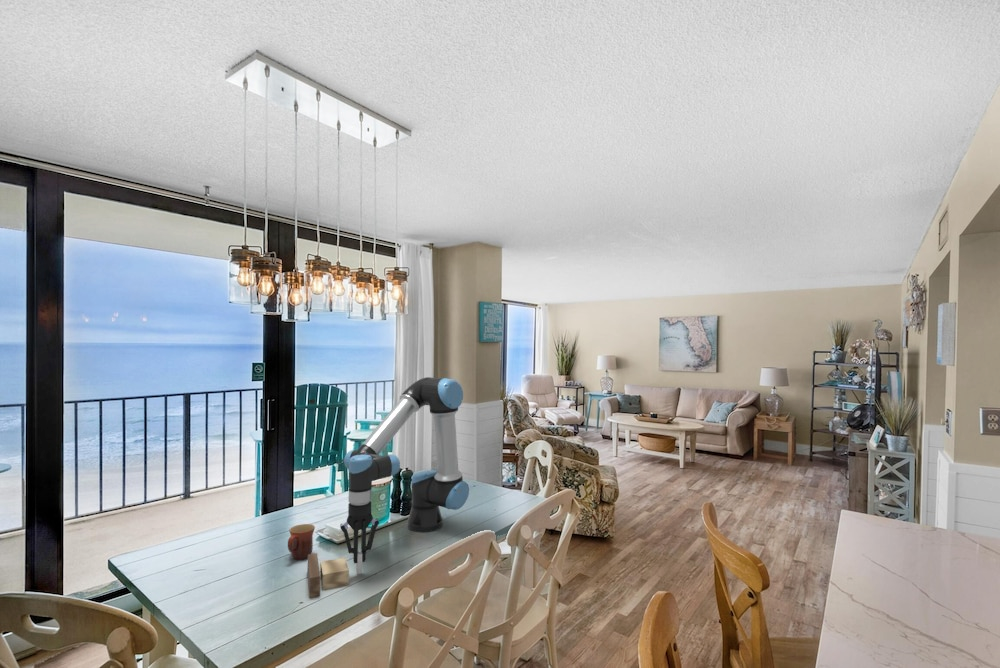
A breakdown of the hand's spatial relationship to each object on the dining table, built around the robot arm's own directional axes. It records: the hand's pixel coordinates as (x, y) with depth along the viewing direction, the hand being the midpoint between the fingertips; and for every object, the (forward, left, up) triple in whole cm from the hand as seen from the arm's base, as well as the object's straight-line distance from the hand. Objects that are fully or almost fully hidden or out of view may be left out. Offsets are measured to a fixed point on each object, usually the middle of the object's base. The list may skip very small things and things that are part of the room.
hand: (359, 571), depth 163 cm
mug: (+19, -21, -1) cm, 28 cm away
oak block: (+8, +1, -1) cm, 8 cm away
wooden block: (+15, 0, -1) cm, 15 cm away
